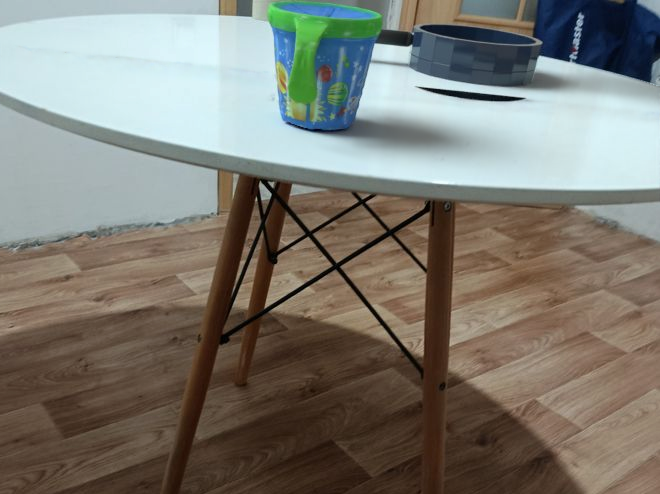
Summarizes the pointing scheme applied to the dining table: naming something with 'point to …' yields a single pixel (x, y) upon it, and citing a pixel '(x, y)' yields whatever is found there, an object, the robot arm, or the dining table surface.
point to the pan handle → (395, 38)
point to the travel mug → (263, 8)
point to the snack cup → (321, 60)
